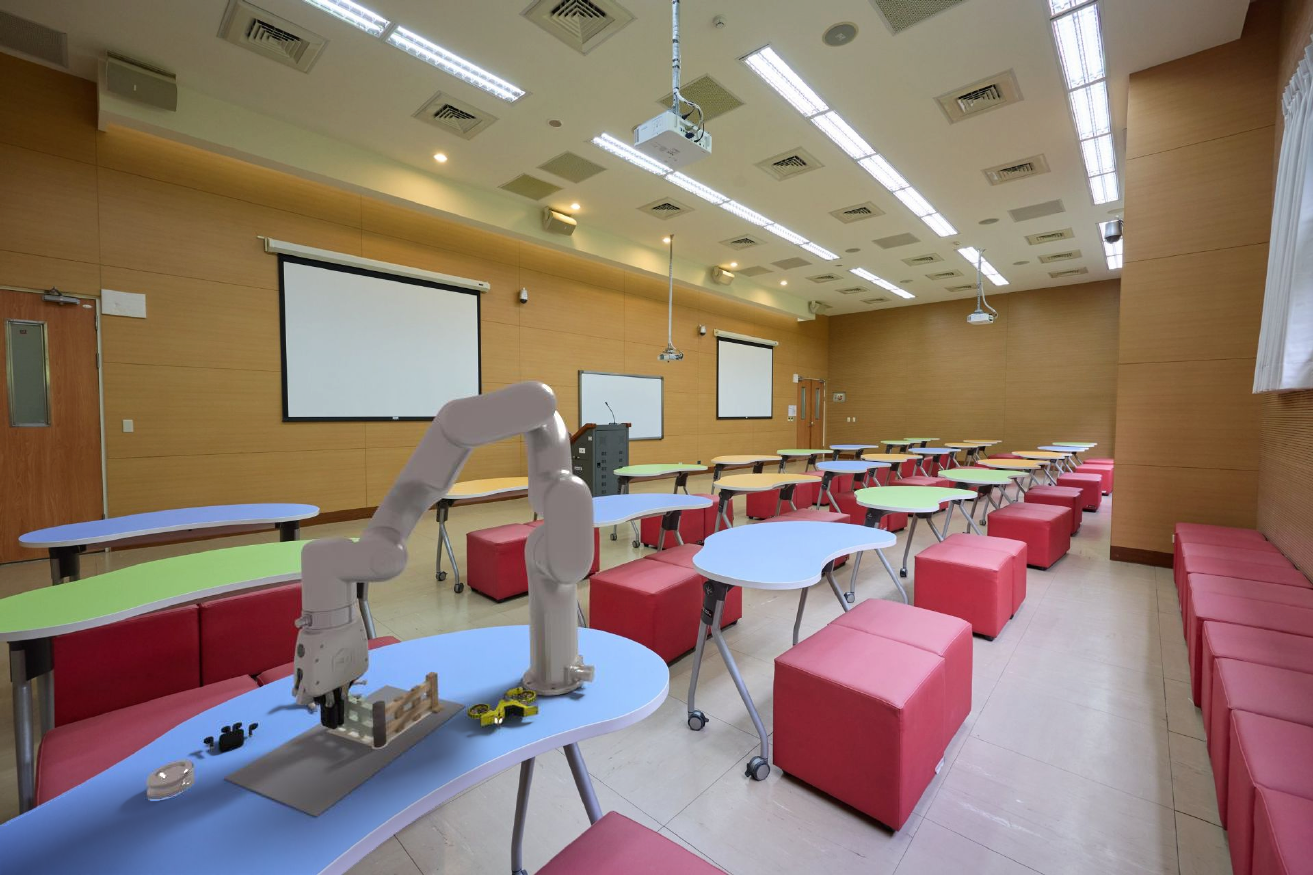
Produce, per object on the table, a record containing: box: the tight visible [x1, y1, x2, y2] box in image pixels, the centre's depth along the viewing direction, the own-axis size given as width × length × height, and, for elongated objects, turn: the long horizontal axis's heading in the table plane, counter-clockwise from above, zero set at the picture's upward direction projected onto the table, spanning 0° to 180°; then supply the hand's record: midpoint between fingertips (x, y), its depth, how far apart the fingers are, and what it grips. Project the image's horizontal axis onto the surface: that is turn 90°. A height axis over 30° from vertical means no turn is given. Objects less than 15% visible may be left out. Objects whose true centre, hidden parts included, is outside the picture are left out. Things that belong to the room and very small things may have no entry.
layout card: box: [223, 684, 467, 818], centre depth 86 cm, size 20×28×1 cm
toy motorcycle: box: [467, 686, 539, 730], centre depth 91 cm, size 12×4×7 cm
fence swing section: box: [338, 692, 373, 737], centre depth 87 cm, size 10×1×6 cm, turn 62°
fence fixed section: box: [372, 671, 444, 748], centre depth 89 cm, size 13×4×7 cm, turn 158°
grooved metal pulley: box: [145, 759, 196, 799], centre depth 75 cm, size 5×3×5 cm
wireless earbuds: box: [202, 722, 259, 753], centre depth 85 cm, size 7×2×5 cm
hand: (332, 724), depth 85 cm, fingers closed
